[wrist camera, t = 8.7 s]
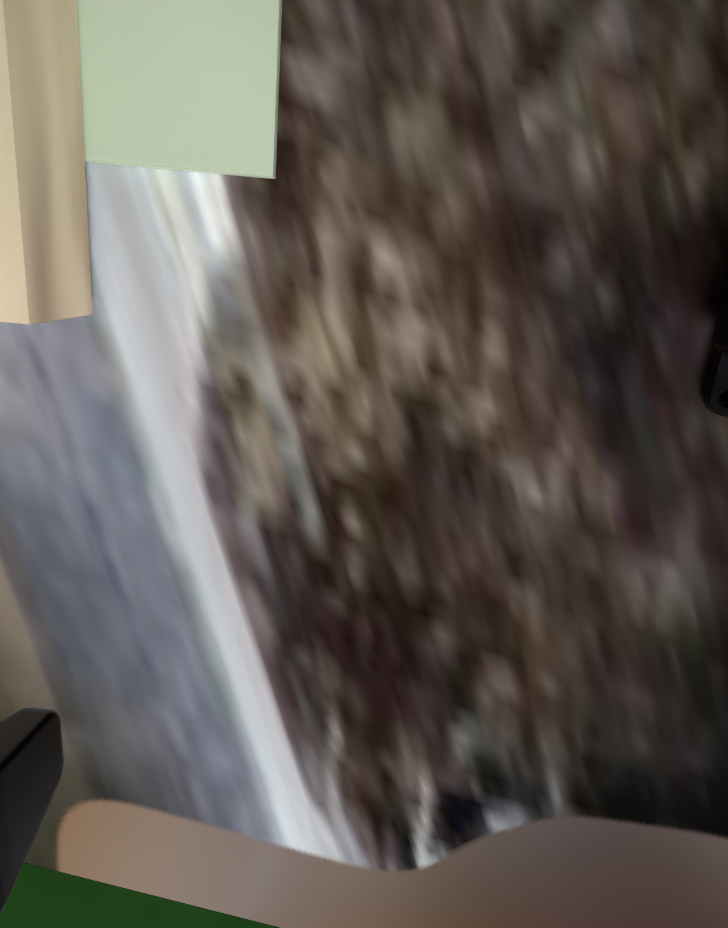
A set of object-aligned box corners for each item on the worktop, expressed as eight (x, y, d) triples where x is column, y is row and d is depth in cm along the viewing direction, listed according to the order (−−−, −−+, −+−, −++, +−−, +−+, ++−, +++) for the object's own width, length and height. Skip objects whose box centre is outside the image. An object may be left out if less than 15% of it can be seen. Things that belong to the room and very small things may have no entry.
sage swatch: (285, -92, 15) (283, -101, 15) (275, 178, 17) (273, 177, 17) (38, -113, 15) (29, -123, 15) (55, 159, 17) (47, 156, 17)
